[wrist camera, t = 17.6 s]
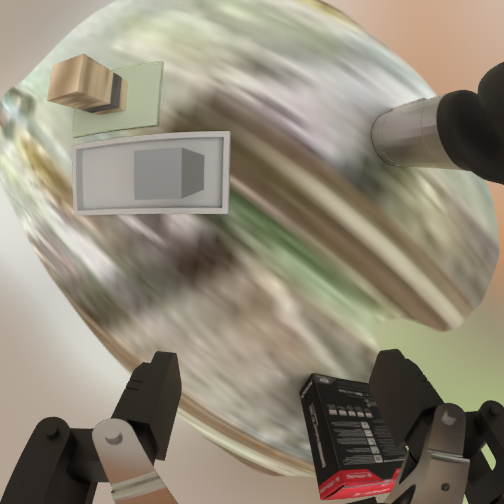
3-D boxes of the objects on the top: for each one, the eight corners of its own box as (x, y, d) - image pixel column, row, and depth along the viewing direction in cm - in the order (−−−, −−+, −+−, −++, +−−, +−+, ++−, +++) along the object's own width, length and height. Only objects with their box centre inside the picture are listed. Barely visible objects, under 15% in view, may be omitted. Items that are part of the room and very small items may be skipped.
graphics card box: (296, 392, 52) (317, 504, 26) (311, 369, 50) (343, 487, 24) (359, 401, 54) (396, 493, 28) (375, 381, 52) (422, 474, 26)
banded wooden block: (99, 115, 35) (46, 101, 22) (101, 87, 34) (53, 65, 20) (125, 110, 35) (77, 91, 22) (128, 81, 34) (84, 53, 20)
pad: (75, 137, 37) (72, 137, 36) (81, 80, 33) (78, 78, 33) (158, 125, 37) (156, 124, 36) (163, 63, 34) (161, 60, 33)
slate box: (171, 189, 39) (134, 200, 26) (171, 156, 38) (134, 150, 24) (203, 189, 39) (181, 198, 26) (204, 155, 38) (182, 147, 24)
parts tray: (83, 212, 40) (74, 215, 38) (82, 146, 37) (72, 145, 34) (229, 210, 41) (228, 214, 38) (231, 134, 38) (229, 131, 35)
